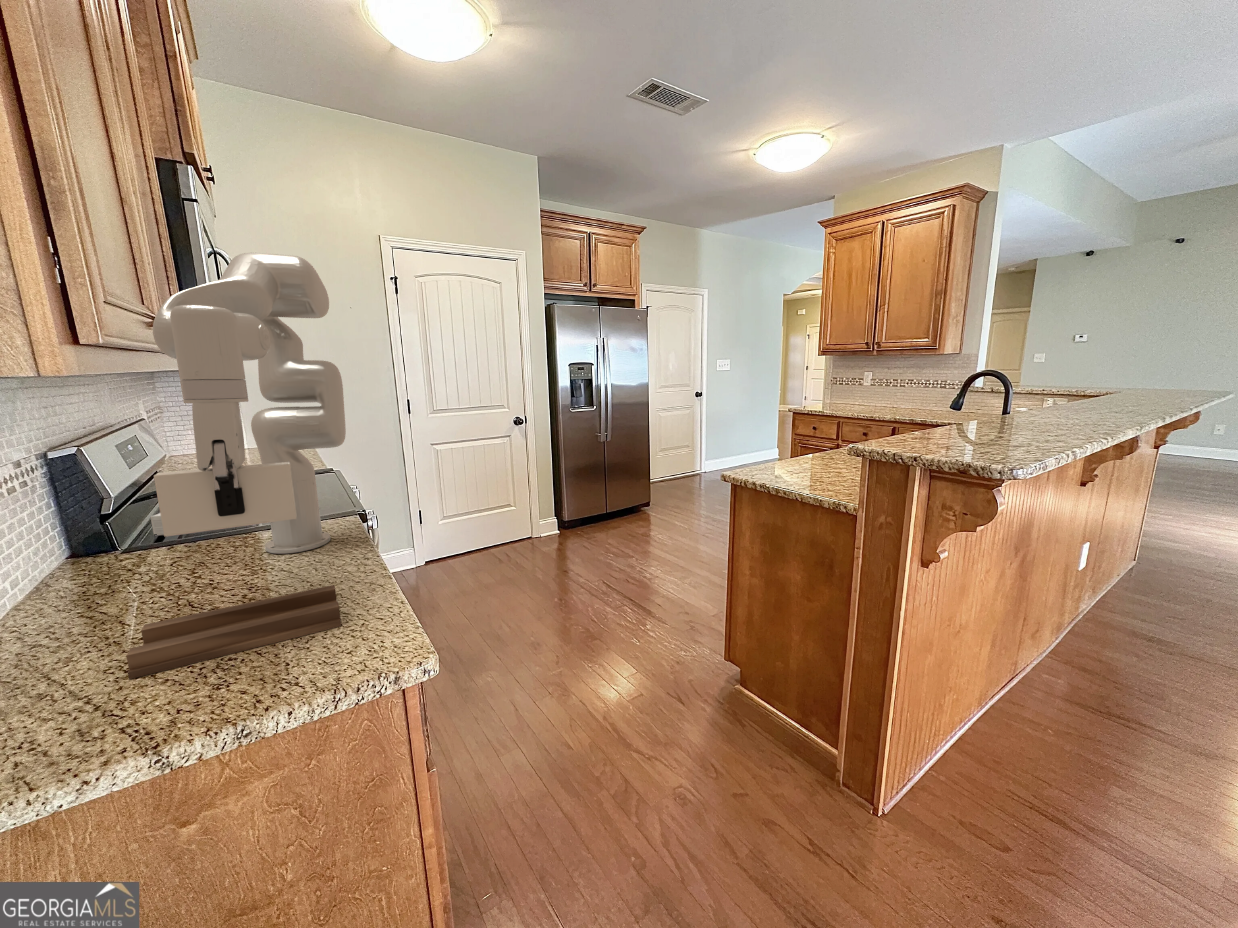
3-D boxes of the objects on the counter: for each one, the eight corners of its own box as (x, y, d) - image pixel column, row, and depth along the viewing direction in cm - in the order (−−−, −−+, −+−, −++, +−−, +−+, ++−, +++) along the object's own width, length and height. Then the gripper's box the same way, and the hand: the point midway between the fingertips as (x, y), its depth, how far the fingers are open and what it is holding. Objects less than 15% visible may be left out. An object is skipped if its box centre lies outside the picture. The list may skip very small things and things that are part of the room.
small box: (174, 526, 126) (170, 507, 125) (208, 524, 128) (205, 505, 127) (152, 536, 118) (148, 516, 118) (190, 534, 120) (186, 514, 119)
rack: (149, 640, 72) (145, 622, 71) (336, 599, 85) (334, 583, 84) (129, 679, 63) (124, 658, 62) (341, 625, 76) (339, 608, 75)
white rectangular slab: (169, 531, 72) (158, 472, 71) (296, 514, 81) (289, 461, 80) (164, 536, 70) (153, 475, 69) (296, 518, 79) (289, 464, 77)
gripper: (192, 392, 77) (210, 505, 80) (170, 394, 63) (192, 529, 66) (251, 391, 81) (266, 498, 84) (242, 392, 67) (259, 520, 70)
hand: (233, 510), depth 75 cm, fingers closed on white rectangular slab, 3 cm apart
